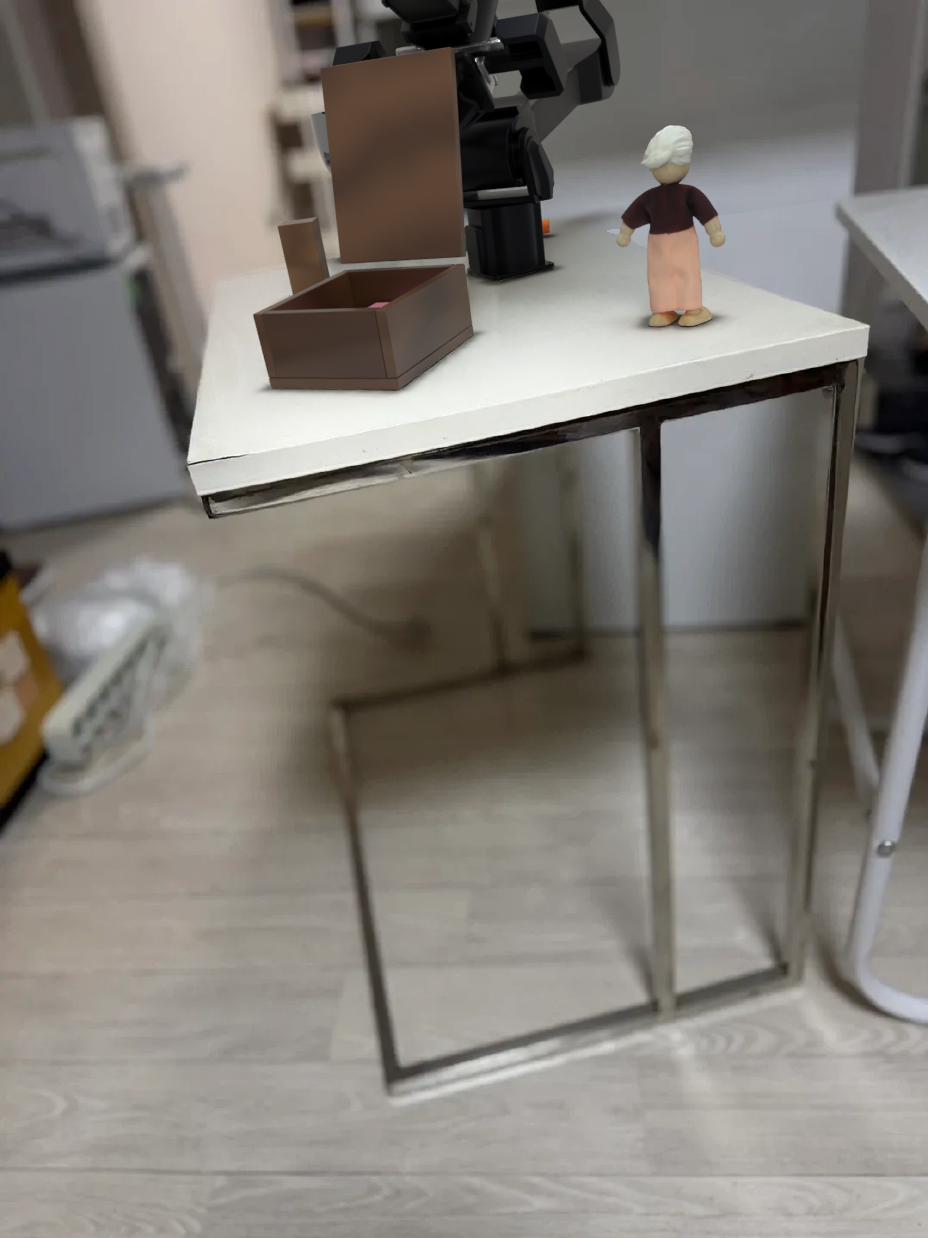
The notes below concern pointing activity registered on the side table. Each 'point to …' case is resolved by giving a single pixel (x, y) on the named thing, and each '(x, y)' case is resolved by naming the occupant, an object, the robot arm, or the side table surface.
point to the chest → (366, 328)
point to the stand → (303, 253)
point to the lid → (396, 157)
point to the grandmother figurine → (672, 230)
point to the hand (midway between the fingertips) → (425, 164)
